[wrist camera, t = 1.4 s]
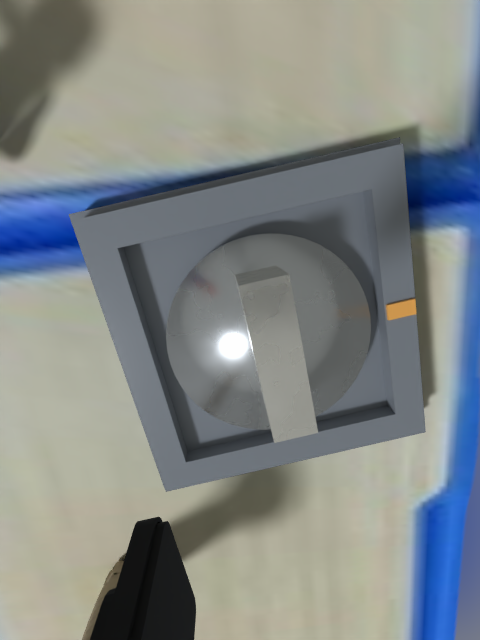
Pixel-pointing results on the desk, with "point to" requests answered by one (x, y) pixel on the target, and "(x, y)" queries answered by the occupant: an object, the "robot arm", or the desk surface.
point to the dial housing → (239, 221)
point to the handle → (108, 585)
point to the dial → (268, 333)
